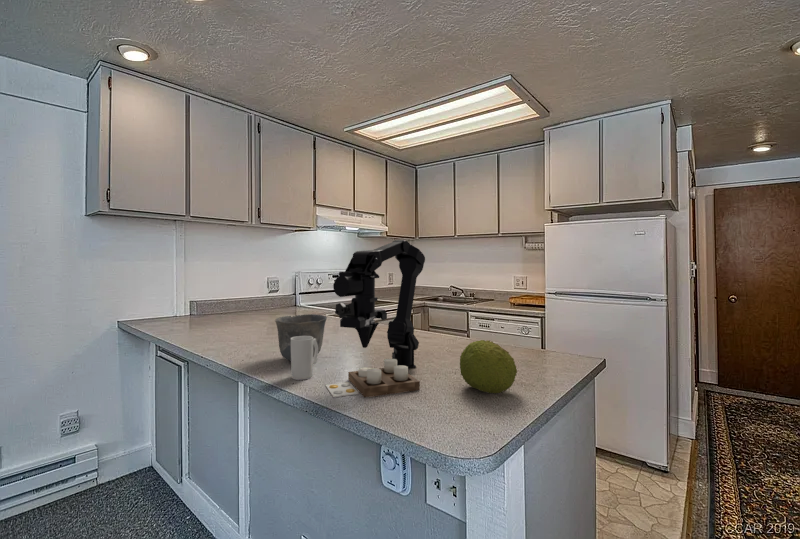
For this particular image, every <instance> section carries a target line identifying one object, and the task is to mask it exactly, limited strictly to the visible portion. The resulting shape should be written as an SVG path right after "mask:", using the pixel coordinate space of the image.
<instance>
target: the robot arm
mask: <svg viewBox="0 0 800 539" xmlns="http://www.w3.org/2000/svg"><path fill="white" fill-rule="evenodd" d="M392 258H395V260H396V261H398V267H399V270H400V273H401V281H400V287H399V288H400V289H399V295H398V301H397V306H396V315H395V317H394V318H393V319H392V321H389V322H388V327H387V331H386V334H387V335H386V336H387V338H386V339H387V342H388V345H389V348H391V349H392V348H393V352H391V359H397V366H398V365H404V366H407V367H408V369H412V368H414V369H415V368H417V365H415V351H417V349H418V348H419V344H420V341H419V340H418V338H417V337H416V336H415V334H414V333H415V328H414V324H413V322H412V320H411V319H412V318H411V317H412V312H413V305H414V298H415V291H416V284H417V278H418V276H420V274H421V272H422V271H423V270H424V265H425V263H426V257H425V254H424V253H423V251H421V250H420V248H418V247H416V246H414V245H412V244H410V242H409V241H408V240H405V239H400V240H399V239H398V240H397V239H396V240H393V241H392V242H390V243H387V244H384V245H382V246H379V247H376V248H373V249H370V250H359V251H358V250H357V251H355V252H353V254H352V257H351V259H350V261H349V263H348V265H347V266H346V268H345V271H339V272H338V276H337V277H336V278H335V279H334V283H333V291H334V293H335V295H336V296H338V297H339V298H344V297H352V299H351V303H348V304H345V303H344V302H339V303H336V304H335V310H334V313H335V315H337V316H338V317H339V319H340V320H339V327H340V328H347V329H348V328H349V329H350V328H351V329H354V330H356V332H357V334H358V337H359V340H360V343H361V346H362V348H368V347H369V344H370V342H371V339H372V337H373V335H374V333H375V331H376V329H377V327H378V325H379V324H380V323H379V322H377V321H375V319H378V320H379V319H381V320H382V321H385V320H387V319H388V313H387V311H386V310H385V309H376V306H375V305H376V302H377V301H378V297H377V296H376V287H375V286H376V284H375V283H376V279H380V275H379V273H377V272H376V271H377V269H378V268H380V267H381V266H382V264H383V263H384V262H385V261H387V260H390V259H392ZM353 296H354V297H353Z"/></svg>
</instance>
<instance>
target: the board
mask: <svg viewBox="0 0 800 539" xmlns="http://www.w3.org/2000/svg"><path fill="white" fill-rule="evenodd" d="M378 369H381V383H379V384H368V383H367V377H360V378H359V377H358V370H353V371H352V370H351V371H348V373H347V374H348V375H347V376H348V378H347V379H348V382H350V383H351V384H352V385H353V387H354V388H355V389H356V390H357V391H358V392H359V394H360V395H361V396H362V397H363V398H364V399H365V398H373V397H378V396H379V397H380V396H386V395H387V396H388V395H393V394H401V393H407V392H413V391H415V392H416V391H420V389H421V387H420V386H421V384H420V380H418V379H417V378H415V377H414V376H413V375H411V374H410V373H408V379H407V380H404V381H398V380H395V379H394V373H387V372H384V367H380V368H378Z"/></svg>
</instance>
